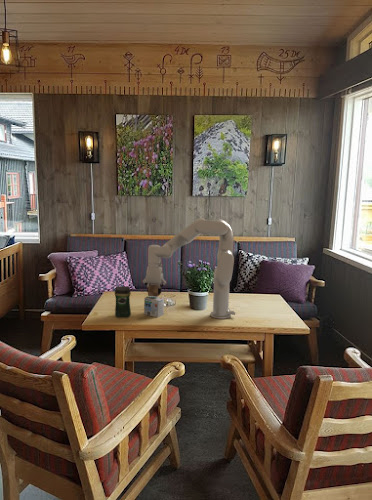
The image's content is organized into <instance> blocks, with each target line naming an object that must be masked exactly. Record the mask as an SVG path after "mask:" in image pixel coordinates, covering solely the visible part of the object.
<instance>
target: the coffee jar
mask: <svg viewBox="0 0 372 500" xmlns="http://www.w3.org/2000/svg"><path fill="white" fill-rule="evenodd" d="M114 297H115V309H114V316H115V318H121V319H122V318H130V317H131V315H132V314H131V313H132V312H131V311H132V310H131V302H130V297H131V287H130V286H121V285H120V286H117V285H116V286H115V289H114Z"/></svg>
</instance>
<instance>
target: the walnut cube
mask: <svg viewBox="0 0 372 500" xmlns="http://www.w3.org/2000/svg"><path fill="white" fill-rule="evenodd" d="M158 288H159V287H158V284H152V283H151V284H150V285H149V286H148V292H147V297H148V296H154V297H160V295H158Z"/></svg>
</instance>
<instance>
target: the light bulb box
mask: <svg viewBox="0 0 372 500" xmlns="http://www.w3.org/2000/svg"><path fill="white" fill-rule="evenodd" d="M143 300H144V301H143V302H144V305H143V306H144V307H143V310H144V311H143V314H144V315H146V316H151V317H156V318H160V317H161V316H163V315H165V313H164V311H165V306H164V305H165V298H164V297H160V296H158V297H154V296H148V295H147V297H144V299H143Z"/></svg>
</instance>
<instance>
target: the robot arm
mask: <svg viewBox="0 0 372 500" xmlns="http://www.w3.org/2000/svg"><path fill="white" fill-rule="evenodd" d="M200 235H211V236H218V237H219V242H218V243H219V244H218V249H217V255H216V259H217V265H216V268H215V269H214V271H213V298H212V300H213V301H212V302H213V303H212V304H213V305H212V311H211V312H210V313H209V314H210V315H209V316H210V317H212V318H214V319H221V320H222V319H223V320H224V319H225V320H226V319H229V318H231V317H232V315H234V316H235V315H236V312H235V311H234V310H231V309H230V307H229V305H230V304H229V303H230V301H229V300H230V282H231V280H232V278H233V277H232V276H233V271H234V263H235V257H234V255H233V250H234V249H233V248H234V241H235V240H234V239H235V238H234V237H235V235H234V232H233V229H232V227H231V225H230V224H229V223H228V222H227V221H226V220H223V219H219V218H218V219H216V220H211V219H205V218H203V217H199V218H196V219H195V220H194V221H193V222H192V223H190V224H189V225H188V226H186V227H185V228H184V229H183V230H181V231H180V232H178V233H177V234H176V235H175V236H173V237H172V238H171V239H169V240H168V241H167V242H165V243H164V244H163V245H162V246H160V245H158V244H151V245H148V250H147V252H148V253H147V254H148V256H147V257H148V261H147V264H148V266H147V267H146V274H145V278H144V279H142V281H141V282H143V285H144V286H146V290H147V293H148V286H149V285H151V284H156V285H158V287H159V288H158V295H159V296H160V295H161V294H162V288H163V287H164V286H165V285H166V284H167V281H166V280H165V279H164V273H163V272H164V271H163V265H164V264H163V263H162V259H169V258H171V257H173V255H174V253H175V252H176V251H177V250H178V249H180V248H181V247H183V246H184V245H188V244H190V243H192V241H194V240H195V239H196V238H198V237H199V236H200ZM161 258H162V259H161Z"/></svg>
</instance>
